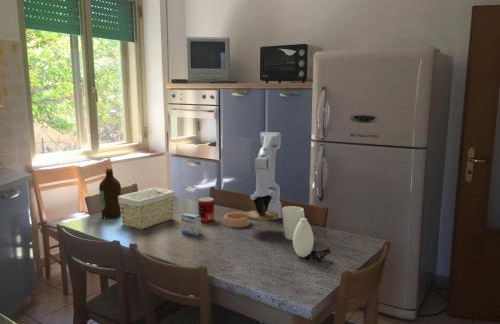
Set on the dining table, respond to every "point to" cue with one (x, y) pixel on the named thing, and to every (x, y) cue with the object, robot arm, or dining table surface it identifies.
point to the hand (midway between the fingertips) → (262, 212)
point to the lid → (262, 215)
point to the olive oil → (110, 195)
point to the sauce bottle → (303, 238)
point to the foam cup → (291, 219)
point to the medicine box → (191, 224)
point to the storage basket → (146, 207)
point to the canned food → (206, 209)
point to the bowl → (236, 220)
